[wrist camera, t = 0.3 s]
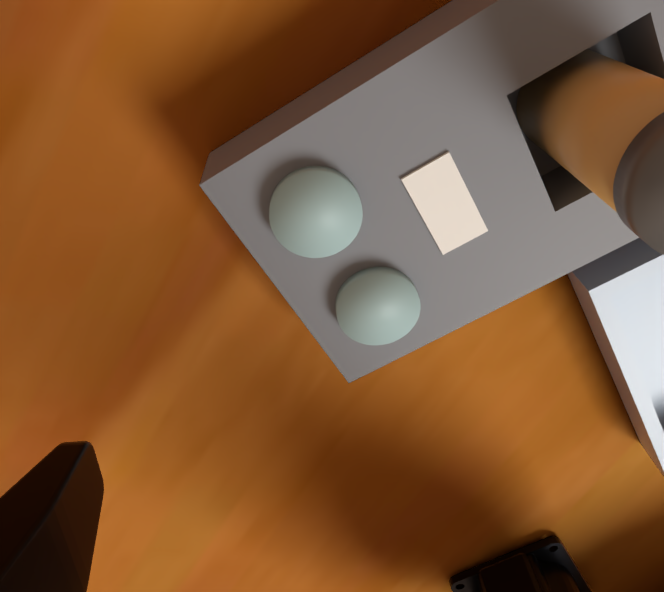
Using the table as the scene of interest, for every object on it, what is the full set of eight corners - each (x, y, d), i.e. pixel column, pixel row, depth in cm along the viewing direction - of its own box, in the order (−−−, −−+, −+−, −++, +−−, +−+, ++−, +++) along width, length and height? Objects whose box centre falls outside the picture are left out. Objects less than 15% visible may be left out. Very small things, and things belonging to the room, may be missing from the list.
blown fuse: (628, 116, 20) (804, 211, 13) (534, 168, 21) (656, 283, 14) (599, 22, 19) (782, 75, 12) (498, 81, 19) (616, 164, 13)
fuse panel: (677, 160, 22) (740, 197, 19) (342, 336, 25) (350, 392, 22) (605, -96, 18) (672, -101, 15) (209, 153, 20) (197, 191, 17)
